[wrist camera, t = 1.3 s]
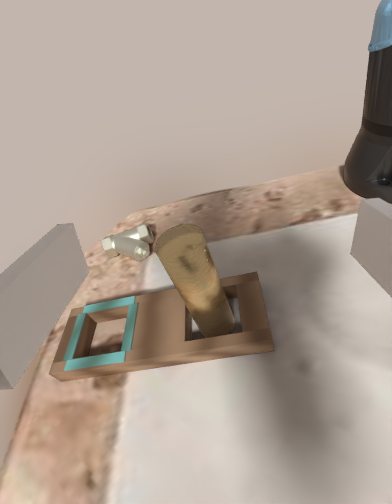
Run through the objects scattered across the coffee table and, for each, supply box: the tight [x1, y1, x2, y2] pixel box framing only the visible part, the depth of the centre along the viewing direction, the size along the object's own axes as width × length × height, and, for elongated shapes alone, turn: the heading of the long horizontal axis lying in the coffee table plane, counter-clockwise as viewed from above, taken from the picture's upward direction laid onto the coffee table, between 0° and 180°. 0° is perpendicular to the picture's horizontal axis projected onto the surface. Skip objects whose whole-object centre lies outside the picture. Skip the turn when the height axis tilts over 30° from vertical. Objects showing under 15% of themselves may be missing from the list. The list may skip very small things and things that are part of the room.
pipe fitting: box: [102, 223, 154, 261], centre depth 47 cm, size 8×4×7 cm
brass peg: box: [155, 224, 235, 338], centre depth 29 cm, size 4×4×14 cm
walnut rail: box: [49, 272, 275, 382], centre depth 34 cm, size 26×9×3 cm, turn 91°
